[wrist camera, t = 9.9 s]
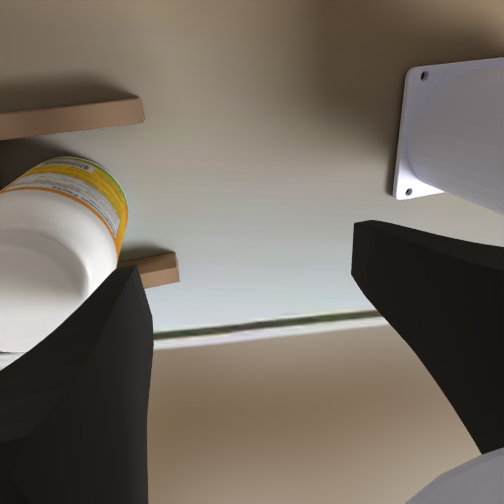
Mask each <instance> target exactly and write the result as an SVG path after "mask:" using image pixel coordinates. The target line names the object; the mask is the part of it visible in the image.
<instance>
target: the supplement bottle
mask: <svg viewBox="0 0 504 504" xmlns="http://www.w3.org/2000/svg"><path fill="white" fill-rule="evenodd" d="M127 219H128V202H127V198H126V195H125V192H124V190H123V188H122V187H121V185H120V183H119V182H118V181H117V179H116V178H115V177H114V176H113V175H112V174H111V173H110V172H109V171H107V170H106V169H105V168H103V167H102V166H100V165H98V164H96V163H94V162H92V161H89V160H86V159H83V158H78V157H70V156H65V157H56V158H52V159H48V160H46V161H43V162H41V163H40V164H38V165H36V166H35V167H33V168H31V169H30V170H29V171H27V172H26V173H24V174H23V175H22V176H20V177H19V178H17V179H16V180H15V181H13V182H12V183H11V184H9V185H8V186H6V187H5V188H3V189H2V190H1V191H0V351H3V352H28V351H29V350H30V349H32V348H33V347H34V346H36V345H37V344H38V343H39V342H41V341H42V340H43V339H44V338H46V337H47V336H48V335H49V334H50V333H51V332H53V331H54V330H55V329H56V328H57V327H58V326H59V325H61V324H62V323H63V322H64V321H65V320H66V319H67V318H68V317H69V316H70V315H71V314H72V313H73V312H74V311H75V310H76V309H77V308H78V307H79V306H80V305H81V304H82V303H83V302H84V301H85V300H86V299H87V298H88V297H89V296H90V295H91V294H92V293H93V292H94V291H95V290H96V289H97V288H98V287H99V285H100V284H101V283H102V282H103V281H104V280H105V279H106V278H107V277H108V276H109V275H110V274H111V273H112V272H113V271H114V270H115V269H116V267H117V262H118V258H119V254H120V249H121V246H122V241H123V237H124V233H125V228H126V224H127Z"/></svg>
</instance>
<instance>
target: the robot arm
mask: <svg viewBox="0 0 504 504" xmlns="http://www.w3.org/2000/svg"><path fill="white" fill-rule="evenodd" d="M423 72H424V78H423V79H422V80H421V74H422V73H423ZM407 189H409V191H408V192H407V193H406V190H407ZM443 192H447V193H449V194H452V195H454V196H457V197H459V198H462V199H464V200H467V201H469V202H472V203H474V204H477V205H479V206H482V207H484V208H487V209H489V210H492V211H494V212H497V213H499V214H502V215H504V57H500V58H491V59H482V60H473V61H464V62H455V63H446V64H437V65H428V66H419V67H413V68H411V69H410V70H409V71H408V72H407V74H406V78H405V87H404V96H403V105H402V114H401V122H400V131H399V140H398V149H397V158H396V167H395V176H394V185H393V197H394V198H396V199H398V200H404V199H410V198H415V197H421V196H426V195H432V194H437V193H443ZM351 275H352V277H353V278H354V280H355V281H356V283H357V285H358V286H359V288H360V289H361V291H362V292H363V294H364V295H365V296H366V298H367V299H368V300H369V301H370V302H371V303H372V305H373V306H374V307H375V308H376V309H377V310H378V311H379V313H380V314H381V315H382V316H383V317H384V318H385V319H386V320H387V321H388V322H389V324H390V325H391V326H392V327H393V328H394V329H395V330H396V331H397V332H398V334H399V335H400V336H401V337H402V338H403V339H404V340H405V341H406V342H407V344H408V345H409V346H410V347H411V348H412V350H413V351H414V352H415V353H416V355H417V356H418V357H419V359H420V360H421V362H422V363H423V364H424V366H425V367H426V368H427V370H428V371H429V373H430V374H431V375H432V377H433V378H434V380H435V381H436V382H437V384H438V386H439V387H440V388H441V390H442V391H443V393H444V394H445V396H446V397H447V399H448V400H449V402H450V403H451V405H452V406H453V408H454V409H455V411H456V412H457V414H458V416H459V417H460V419H461V421H462V422H463V424H464V426H465V427H466V428H467V430H468V432H469V433H470V435H471V437H472V438H473V440H474V442H475V443H476V445H477V447H478V449H479V450H480V452H481V454H482V455H480V456H478V457H476V458H474V459H472V460H470V461H468V462H466V463H464V464H462V465H459V466H457V467H455V468H453V469H451V470H449V471H447V472H445V473H443V474H441V475H439V476H438V477H437V478H435V479H434V480H433V481H432V482H431V483H429V484H428V485H427V486H426V487H424V488H423V489H422V490H421V491H419V492H418V493H417V494H416V495H415V496H413V497H412V498H411V499H410V500H408V501H407V502H406V504H504V247H499V246H493V245H486V244H480V243H474V242H469V241H464V240H459V239H454V238H450V237H445V236H441V235H437V234H432V233H428V232H424V231H420V230H416V229H412V228H408V227H404V226H400V225H396V224H392V223H387V222H382V221H376V220H368V221H363V222H357V223H354V233H353V250H352V268H351ZM153 345H154V342H153V321H152V314H151V311H150V308H149V304H148V301H147V297H146V294H145V291H144V287H143V284H142V280H141V277H140V274H139V270H138V267H137V264H135V265H130V266H125V267H120V268H116V269H115V270H114V271H113V272H112V273H111V274H110V275H109V276H108V277H107V278H106V279H105V280H104V281H103V282H102V283H101V284H100V285H99V287H98V288H97V289H96V290H95V291H94V292H93V293H92V294H91V295H90V296H89V297H88V298H87V299H86V300H85V301H84V302H83V303H82V304H81V305H80V306H79V307H78V308H77V309H76V310H75V311H74V312H73V313H72V314H71V315H70V316H69V317H68V318H67V319H66V320H65V321H64V322H63V323H62V324H61V325H59V326H58V327H57V328H56V329H55V330H54V331H53V332H51V333H50V334H49V335H48V336H47V337H46V338H44V339H43V340H42V341H41V342H39V343H38V344H37V345H36V346H34V347H33V348H32V349H30V350H29V351H28V352H27V353H25V354H24V355H23V356H21V357H20V358H18V359H17V360H15V361H14V362H13V363H11V364H10V365H8V366H7V367H5V368H4V369H2V370H1V371H0V504H148V476H147V475H148V473H147V410H148V399H149V389H150V379H151V368H152V357H153Z"/></svg>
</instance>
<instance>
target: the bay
mask: <svg viewBox="0 0 504 504" xmlns="http://www.w3.org/2000/svg"><path fill="white" fill-rule="evenodd" d="M144 119H145V117H144V113H143V108H142V104H141V99H140V97H139V98H130V99H121V100H112V101H103V102H94V103H85V104H76V105H67V106H58V107H49V108H40V109H31V110H22V111H13V112H4V113H0V140H6V139H14V138H22V137H30V136H38V135H46V134H55V133H63V132H71V131H79V130H87V129H95V128H103V127H111V126H120V125H128V124H136V123H143V121H144ZM135 264H137V267H138V270H139V274H140V277H141V280H142V284H143V287H144V289H145V288H150V287H155V286H160V285H165V284H170V283H175V282H180V280H179V269H178V263H177V258H176V254H175V252H173V253H168V254H162V255H157V256H152V257H146V258H141V259H135V260H130V261H125V262H119V263H117V267H116V268H120V267H125V266H130V265H135Z"/></svg>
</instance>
